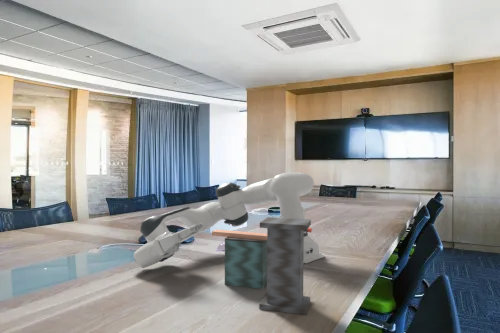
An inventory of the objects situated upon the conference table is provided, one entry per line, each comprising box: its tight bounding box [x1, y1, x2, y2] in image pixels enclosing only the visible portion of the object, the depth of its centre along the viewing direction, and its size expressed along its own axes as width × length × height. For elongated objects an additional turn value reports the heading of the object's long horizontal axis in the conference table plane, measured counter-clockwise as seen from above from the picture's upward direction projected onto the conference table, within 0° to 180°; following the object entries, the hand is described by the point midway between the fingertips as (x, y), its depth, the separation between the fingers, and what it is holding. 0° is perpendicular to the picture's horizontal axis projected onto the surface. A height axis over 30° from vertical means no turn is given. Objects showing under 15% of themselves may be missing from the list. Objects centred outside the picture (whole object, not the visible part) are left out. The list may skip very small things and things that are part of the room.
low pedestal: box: [224, 237, 267, 290], centre depth 128 cm, size 14×10×17 cm
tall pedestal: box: [258, 216, 312, 316], centre depth 108 cm, size 14×10×26 cm
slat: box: [211, 229, 267, 240], centre depth 127 cm, size 26×4×2 cm, turn 69°
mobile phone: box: [215, 242, 225, 252], centre depth 178 cm, size 8×1×15 cm
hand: (196, 227), depth 133 cm, fingers open, 8 cm apart
